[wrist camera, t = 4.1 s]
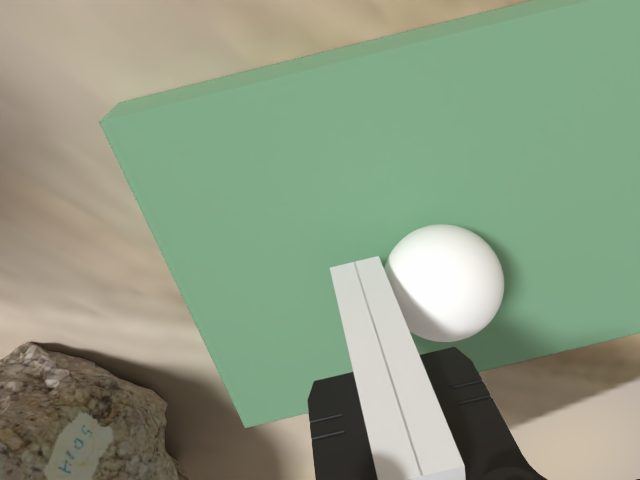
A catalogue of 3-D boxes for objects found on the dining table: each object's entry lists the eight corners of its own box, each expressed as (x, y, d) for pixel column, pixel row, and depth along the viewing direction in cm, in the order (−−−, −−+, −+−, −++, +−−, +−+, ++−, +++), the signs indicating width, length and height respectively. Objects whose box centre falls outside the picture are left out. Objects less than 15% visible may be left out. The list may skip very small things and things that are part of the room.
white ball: (378, 304, 16) (409, 380, 13) (363, 220, 14) (394, 286, 11) (474, 280, 16) (526, 349, 13) (471, 192, 14) (530, 250, 11)
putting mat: (246, 389, 20) (243, 474, 17) (119, 102, 14) (72, 147, 10) (862, 241, 20) (986, 296, 17) (1044, -127, 13) (1315, -161, 10)
